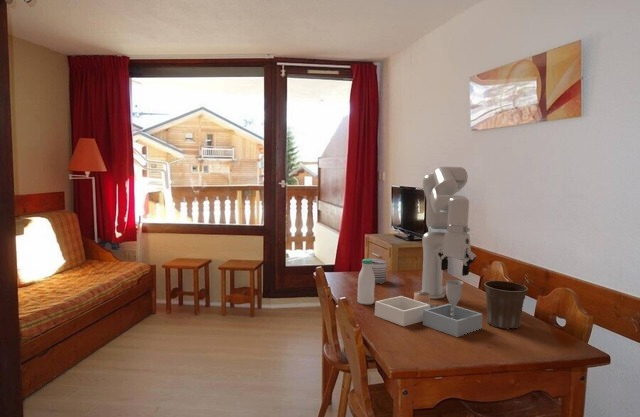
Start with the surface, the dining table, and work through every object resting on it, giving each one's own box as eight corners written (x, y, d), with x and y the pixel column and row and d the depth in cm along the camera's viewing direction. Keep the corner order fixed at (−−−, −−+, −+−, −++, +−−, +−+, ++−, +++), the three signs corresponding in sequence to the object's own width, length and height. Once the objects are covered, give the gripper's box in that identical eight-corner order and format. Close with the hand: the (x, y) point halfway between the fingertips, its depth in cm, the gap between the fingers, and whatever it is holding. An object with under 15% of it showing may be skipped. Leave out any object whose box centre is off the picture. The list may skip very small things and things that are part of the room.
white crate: (400, 309, 200) (401, 295, 199) (429, 319, 187) (430, 304, 186) (374, 315, 190) (375, 301, 189) (403, 326, 177) (404, 311, 177)
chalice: (440, 323, 182) (442, 279, 180) (456, 323, 182) (459, 279, 181) (446, 329, 175) (449, 284, 173) (463, 329, 175) (466, 284, 174)
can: (365, 278, 256) (366, 257, 255) (385, 279, 255) (386, 258, 254) (364, 283, 245) (365, 261, 244) (386, 284, 244) (386, 262, 243)
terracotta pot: (420, 305, 205) (421, 290, 205) (432, 309, 200) (433, 294, 199) (410, 308, 201) (410, 292, 201) (422, 312, 196) (423, 296, 195)
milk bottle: (373, 305, 204) (375, 261, 202) (356, 304, 206) (357, 260, 204) (374, 300, 212) (376, 258, 210) (358, 299, 213) (359, 257, 211)
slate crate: (447, 317, 190) (448, 303, 189) (481, 328, 177) (482, 313, 176) (422, 324, 180) (423, 310, 179) (457, 337, 167) (457, 321, 167)
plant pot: (526, 334, 172) (529, 292, 171) (481, 328, 178) (484, 287, 176) (523, 321, 188) (526, 283, 186) (482, 316, 193) (484, 279, 192)
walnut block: (426, 313, 195) (426, 301, 195) (437, 315, 193) (438, 303, 192) (422, 316, 191) (423, 304, 191) (434, 318, 188) (434, 306, 188)
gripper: (482, 231, 171) (479, 276, 173) (444, 225, 184) (442, 266, 186) (470, 233, 166) (468, 278, 168) (433, 226, 180) (430, 269, 182)
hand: (454, 272), depth 177 cm, fingers open, 9 cm apart
